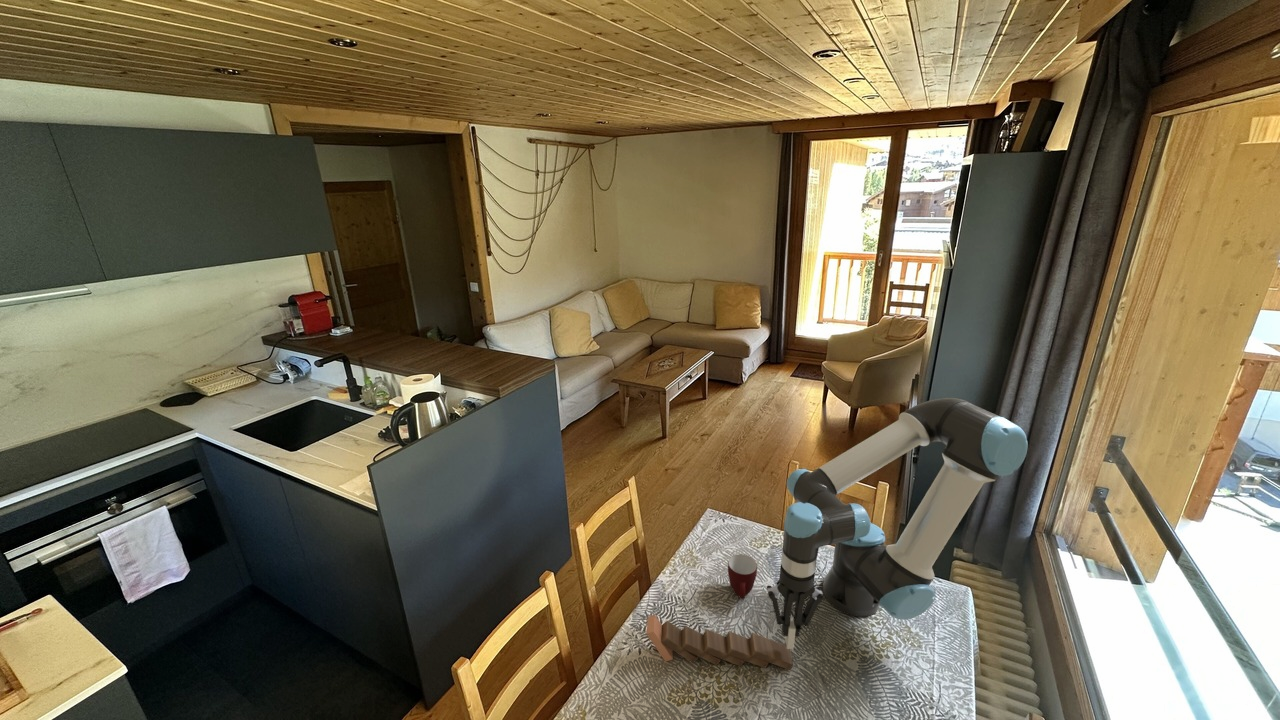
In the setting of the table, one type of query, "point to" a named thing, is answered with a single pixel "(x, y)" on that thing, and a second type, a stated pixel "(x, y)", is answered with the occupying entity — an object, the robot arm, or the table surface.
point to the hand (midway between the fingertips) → (789, 644)
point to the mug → (742, 574)
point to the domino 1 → (658, 637)
